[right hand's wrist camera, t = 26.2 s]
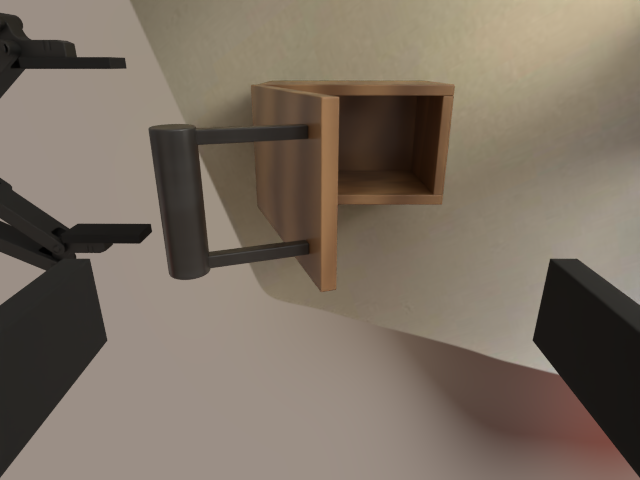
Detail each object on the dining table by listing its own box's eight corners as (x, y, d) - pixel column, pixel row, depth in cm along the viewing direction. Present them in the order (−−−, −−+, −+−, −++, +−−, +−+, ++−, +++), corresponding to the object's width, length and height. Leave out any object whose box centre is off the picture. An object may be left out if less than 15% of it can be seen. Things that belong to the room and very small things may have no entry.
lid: (339, 96, 20) (142, 100, 17) (336, 290, 24) (173, 317, 21) (262, 84, 35) (148, 85, 32) (267, 205, 38) (166, 215, 36)
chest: (424, 80, 45) (455, 84, 35) (416, 176, 49) (442, 204, 39) (271, 80, 45) (257, 84, 35) (274, 176, 49) (263, 204, 39)
